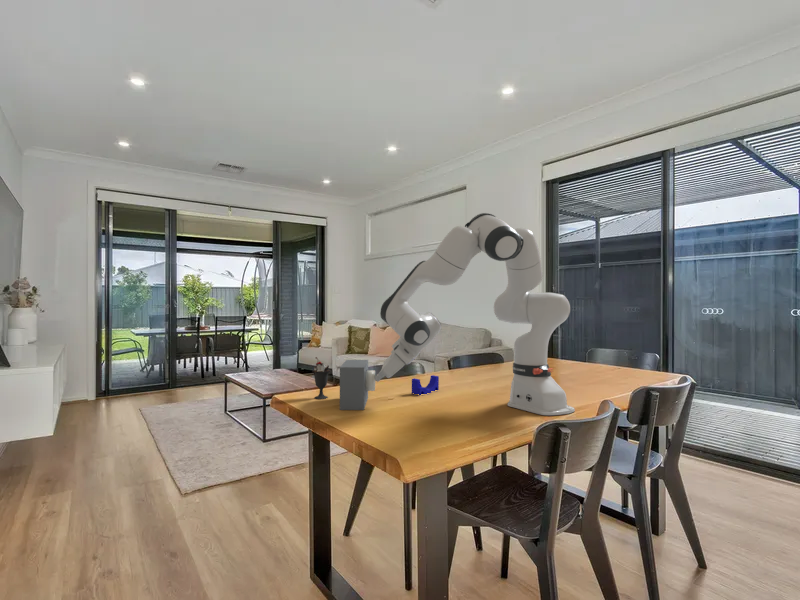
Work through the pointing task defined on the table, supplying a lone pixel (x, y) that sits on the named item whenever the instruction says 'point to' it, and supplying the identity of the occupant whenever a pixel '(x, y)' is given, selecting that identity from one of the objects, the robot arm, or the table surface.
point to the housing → (353, 385)
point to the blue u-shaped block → (430, 387)
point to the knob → (370, 380)
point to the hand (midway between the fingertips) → (376, 379)
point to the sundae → (321, 378)
